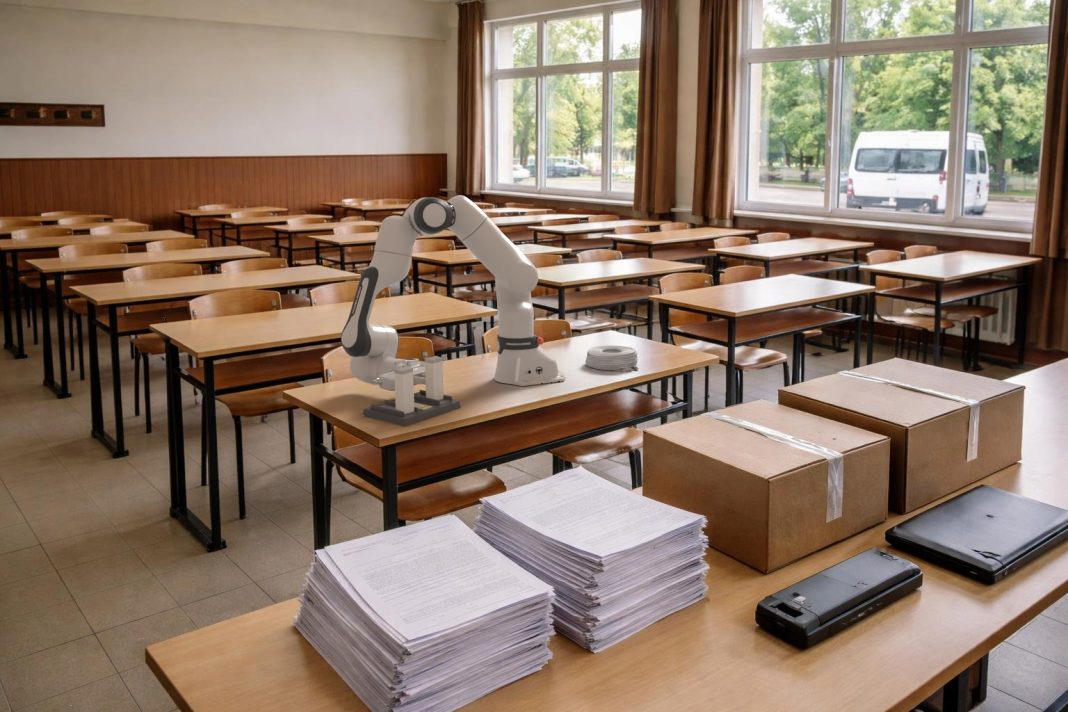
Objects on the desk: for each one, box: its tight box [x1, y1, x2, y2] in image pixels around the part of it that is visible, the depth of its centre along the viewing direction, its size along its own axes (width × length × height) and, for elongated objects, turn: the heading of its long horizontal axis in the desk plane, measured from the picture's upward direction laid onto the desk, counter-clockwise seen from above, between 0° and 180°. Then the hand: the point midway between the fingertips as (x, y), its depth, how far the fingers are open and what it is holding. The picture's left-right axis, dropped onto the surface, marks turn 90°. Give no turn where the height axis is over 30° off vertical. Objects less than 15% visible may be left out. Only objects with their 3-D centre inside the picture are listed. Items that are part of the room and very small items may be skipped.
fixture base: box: [362, 389, 461, 427], centre depth 259 cm, size 16×22×3 cm
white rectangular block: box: [394, 367, 415, 414], centre depth 250 cm, size 3×4×12 cm
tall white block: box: [424, 355, 444, 400], centre depth 262 cm, size 3×4×12 cm
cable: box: [585, 344, 639, 373], centre depth 312 cm, size 18×18×6 cm
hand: (430, 381), depth 263 cm, fingers closed, pressing on tall white block
